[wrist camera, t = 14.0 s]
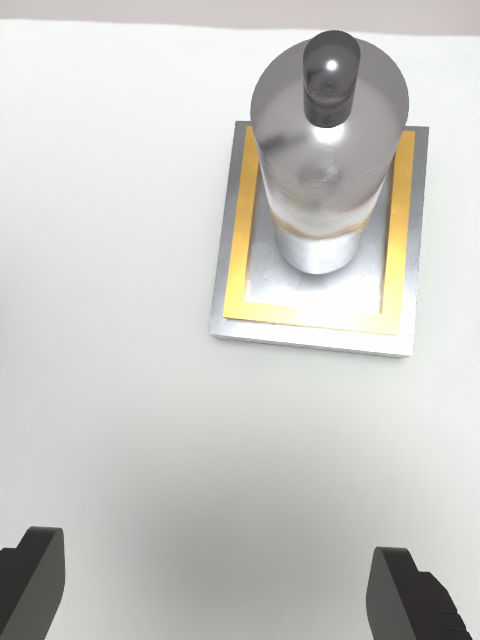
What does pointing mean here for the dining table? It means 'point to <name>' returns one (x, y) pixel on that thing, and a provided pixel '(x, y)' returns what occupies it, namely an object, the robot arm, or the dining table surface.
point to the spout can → (326, 144)
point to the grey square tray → (330, 288)
